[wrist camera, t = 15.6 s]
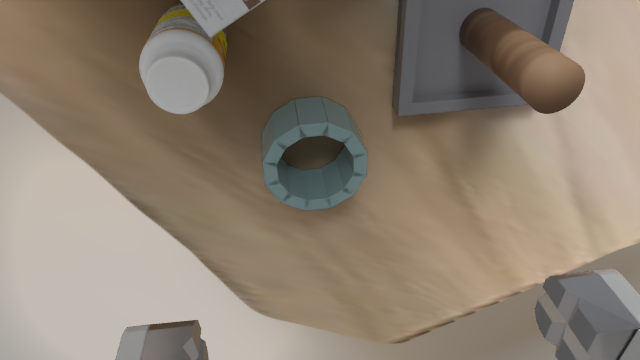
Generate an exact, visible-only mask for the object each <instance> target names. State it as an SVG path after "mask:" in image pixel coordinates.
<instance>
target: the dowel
mask: <svg viewBox="0 0 640 360" xmlns="http://www.w3.org/2000/svg"><path fill="white" fill-rule="evenodd" d="M459 37H460V41H461V43H462V45H463V46H464V47H465V48H467V49H468V50H469V51H470V52H471V53H472V54H473V55H474V56H475V57H477V58H478V59H479V60H480V61H481V62H482V63H483V64H484V65H485V66H487V67H488V68H489V69H490V70H491V71H492V72H493V73H494V74H495V75H497V76H498V77H499V78H500V79H501V80H502V81H503V82H504V83H506V84H507V85H508V86H509V87H510V88H511V89H512V90H513V91H514V92H516V93H517V94H518V95H519V96H520V97H521V98H522V99H523V100H524V101H526V102H527V103H528V104H529V105H530V106H531V107H532V108H533V109H534V110H536V111H537V112H540V113H545V114H550V113H555V112H558V111H560V110H562V109H564V108H566V107H567V106H569V105H570V104H571V103H572V102H573V101H574V100H575V99H576V98H577V97H578V96H579V94H580V93H581V91H582V89H583V86H584V83H585V73H584V70H583V69H582V67H581V66H580V65H579V64H577V63H576V62H574V61H573V60H571V59H570V58H568V57H566V56H565V55H563V54H562V53H560V52H559V51H557V50H555V49H554V48H552V47H551V46H549V45H548V44H546V43H544V42H543V41H541V40H540V39H538V38H537V37H535V36H534V35H532V34H530V33H529V32H527V31H526V30H524V29H523V28H521V27H519V26H518V25H516V24H515V23H513V22H512V21H510V20H508V19H507V18H505V17H504V16H502V15H501V14H499V13H497V12H496V11H494V10H492V9H490V8H480V9H477V10H475V11H473V12H472V13H470V14H469V15H468V16H467V17H466V18H465V19H464V21H463V23H462V25H461V27H460V31H459Z"/></svg>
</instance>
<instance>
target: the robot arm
mask: <svg viewBox="0 0 640 360" xmlns="http://www.w3.org/2000/svg"><path fill="white" fill-rule="evenodd" d="M543 288H544V289H545V291H546V293H545V294H544V295H543V296H541V297H540V298H539V299H538V301H537V304H536V307H535V314H536V321H537V324H538V326H539V329H540V330H541V333H542V334H543V336H544V338H545V339H547V340H548V341H550V342H551V343H553V344H554V345H556V354H555V356H556V358H557V359H558V360H640V295H639V294H638V293H637V292H636V291H635V290H634V288H633V287H632V286H631V285H630V284H629V283H628V282H627V280H626V279H625V278H624V277H623V276H622V275H621V274H620V273H619V272H618V271H616V270H614V269H604V270H597V271H585V272H577V273H570V274H563V275H556V276H550V277H549V278H547V279H546V280H545V283H544V285H543ZM200 335H201V327H200V324H199V322H198V320H192V321H182V322H172V323H162V324H150V325H142V326H133V327H127V328H126V330H125V331H124V333H123V335H122V338H121V342H120V345H119V348H118V352H117V356H116V359H115V360H208V352H207V346H206V343H205V341H204V340H202V339H201V338H200Z"/></svg>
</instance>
